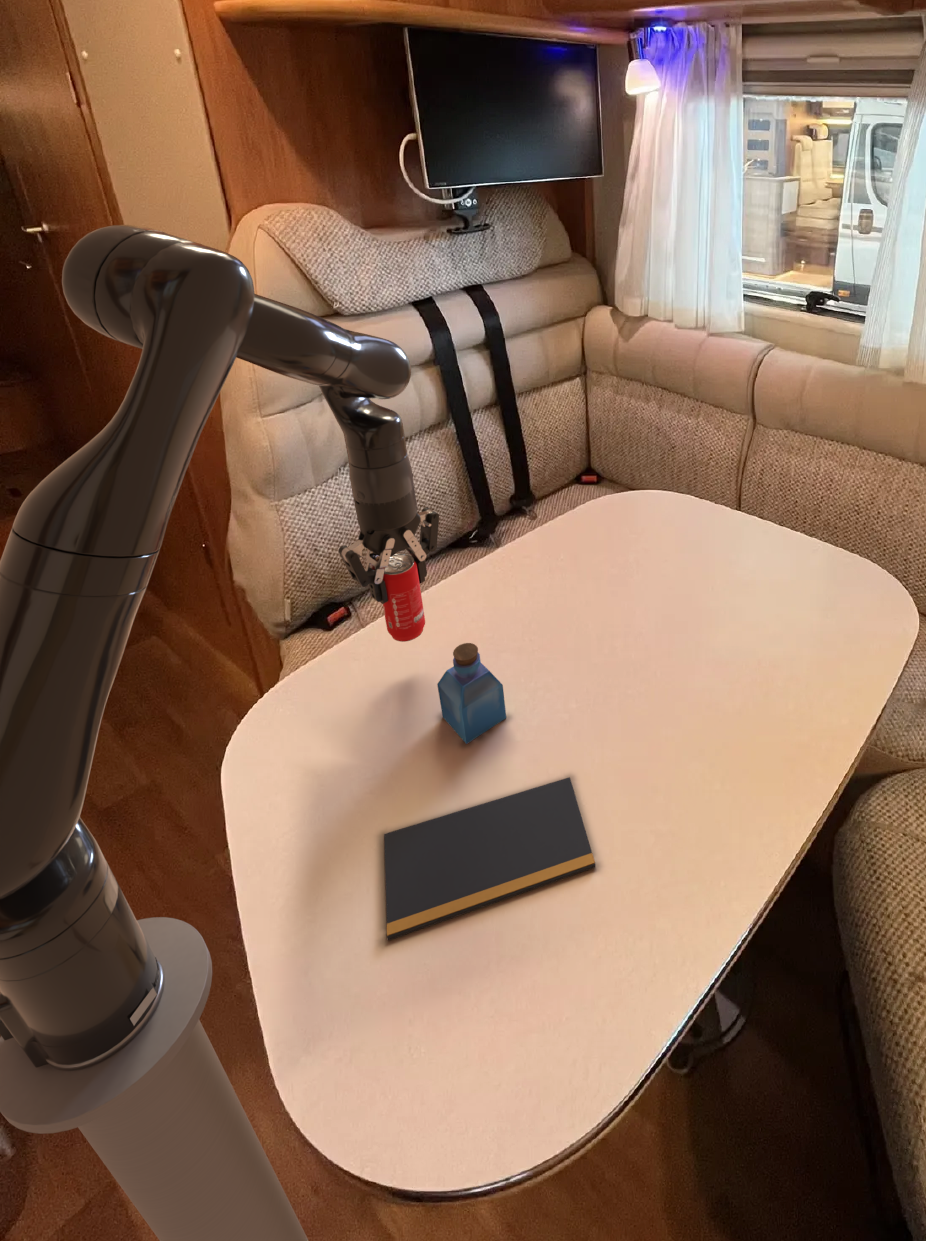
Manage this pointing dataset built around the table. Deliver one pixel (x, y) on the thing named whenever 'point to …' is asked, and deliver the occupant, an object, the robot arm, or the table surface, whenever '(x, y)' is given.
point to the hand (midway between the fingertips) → (400, 589)
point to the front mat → (483, 856)
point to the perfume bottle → (470, 695)
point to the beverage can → (403, 599)
